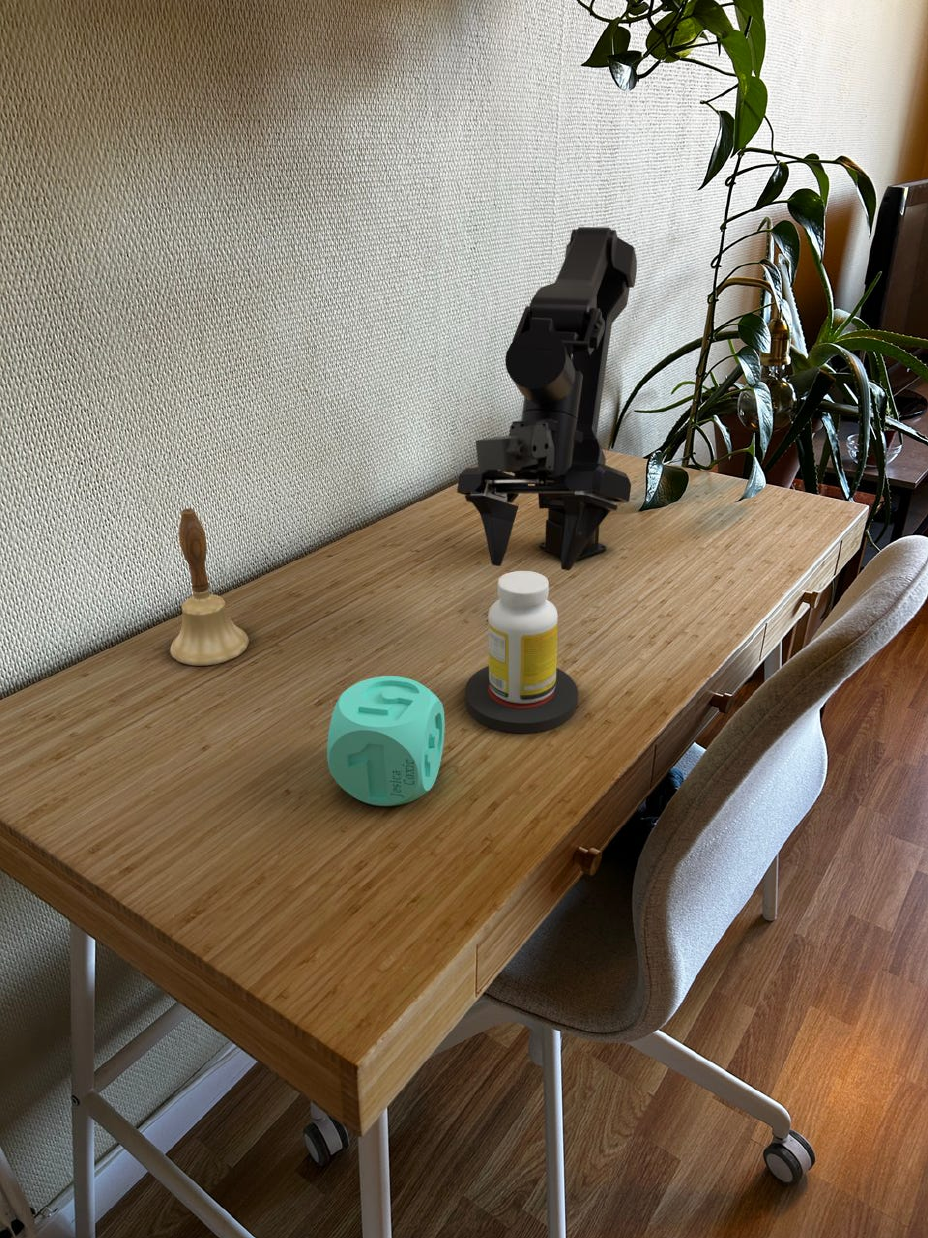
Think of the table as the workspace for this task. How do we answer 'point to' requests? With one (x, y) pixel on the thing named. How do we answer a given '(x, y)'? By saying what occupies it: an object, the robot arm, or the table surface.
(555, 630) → the pill bottle
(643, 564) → the table surface
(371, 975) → the table surface
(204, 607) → the hand bell
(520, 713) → the disc
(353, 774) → the decorative dice
